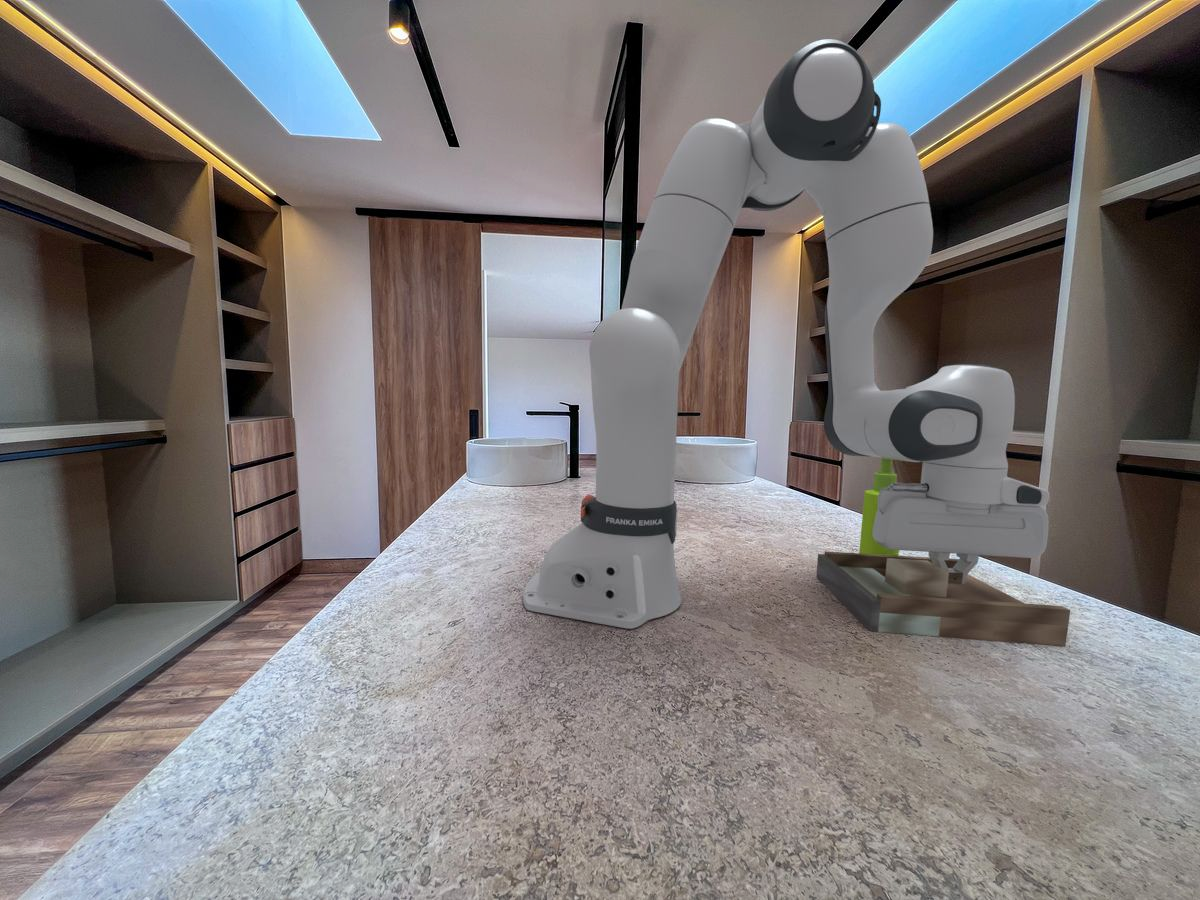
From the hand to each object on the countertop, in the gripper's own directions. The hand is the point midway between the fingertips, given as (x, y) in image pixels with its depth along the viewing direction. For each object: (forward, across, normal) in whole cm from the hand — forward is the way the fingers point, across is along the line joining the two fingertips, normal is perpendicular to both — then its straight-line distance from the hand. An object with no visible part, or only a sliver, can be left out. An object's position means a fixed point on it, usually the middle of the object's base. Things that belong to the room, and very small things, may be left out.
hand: (949, 582), depth 59 cm
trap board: (+4, -3, 0) cm, 5 cm away
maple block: (+1, -4, 0) cm, 5 cm away
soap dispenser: (+4, 0, +18) cm, 18 cm away
